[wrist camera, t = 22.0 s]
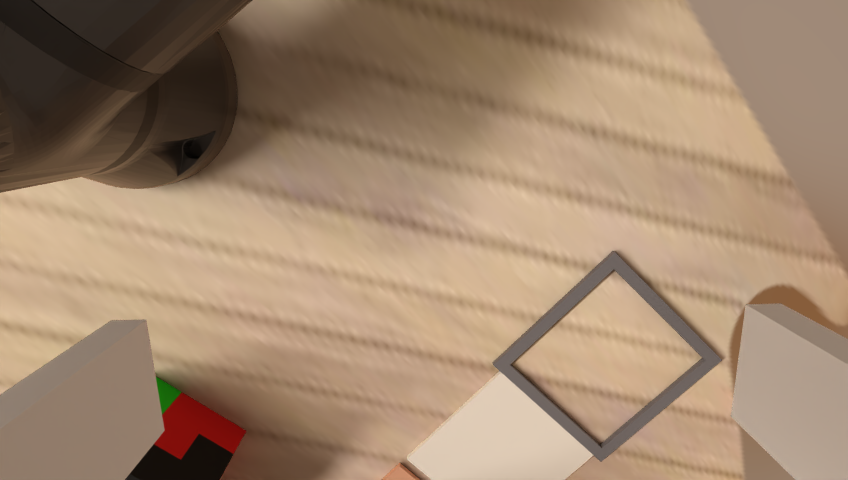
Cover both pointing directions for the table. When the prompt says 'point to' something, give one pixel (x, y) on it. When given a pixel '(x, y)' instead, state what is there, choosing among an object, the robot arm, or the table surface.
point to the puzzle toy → (188, 441)
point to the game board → (539, 409)
